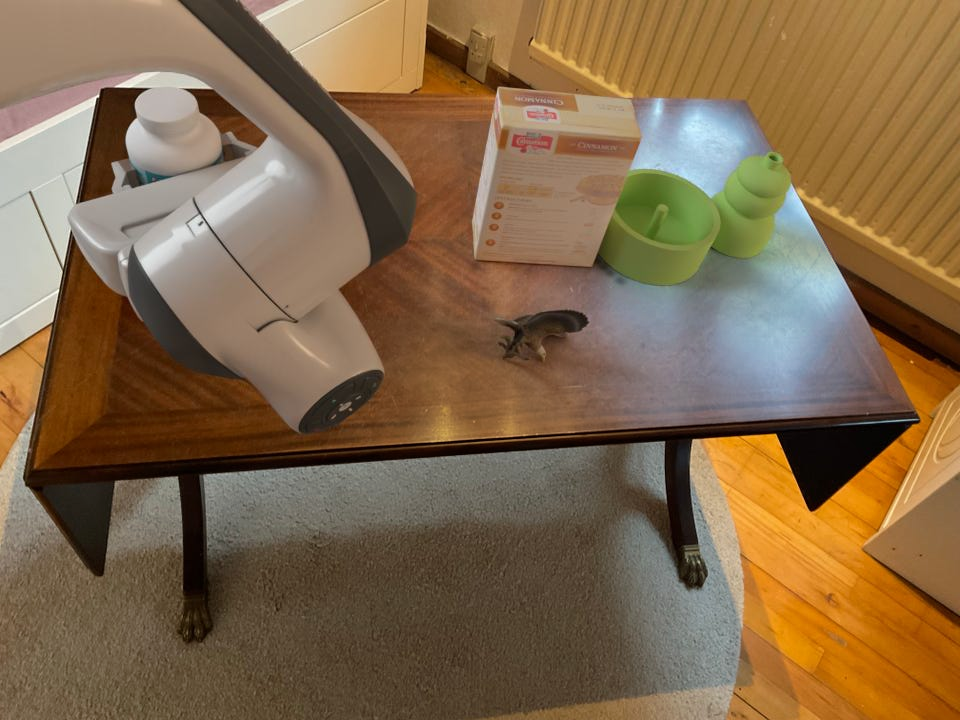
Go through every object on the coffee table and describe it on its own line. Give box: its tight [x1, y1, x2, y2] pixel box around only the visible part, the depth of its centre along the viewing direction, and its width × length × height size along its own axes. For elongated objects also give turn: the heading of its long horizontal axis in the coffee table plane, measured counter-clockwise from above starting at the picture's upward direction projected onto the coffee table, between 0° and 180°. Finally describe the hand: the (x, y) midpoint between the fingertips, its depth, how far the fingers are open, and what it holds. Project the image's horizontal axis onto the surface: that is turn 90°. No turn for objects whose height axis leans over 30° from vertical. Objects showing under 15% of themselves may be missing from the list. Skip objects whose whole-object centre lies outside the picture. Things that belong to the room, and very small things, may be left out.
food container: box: [597, 151, 792, 286], centre depth 92 cm, size 25×15×13 cm, turn 108°
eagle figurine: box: [493, 309, 590, 362], centre depth 80 cm, size 8×7×9 cm
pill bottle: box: [125, 85, 224, 187], centre depth 64 cm, size 8×7×14 cm
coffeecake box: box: [471, 86, 643, 268], centre depth 85 cm, size 15×7×20 cm, turn 94°
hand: (173, 153), depth 63 cm, fingers closed on pill bottle, 7 cm apart
